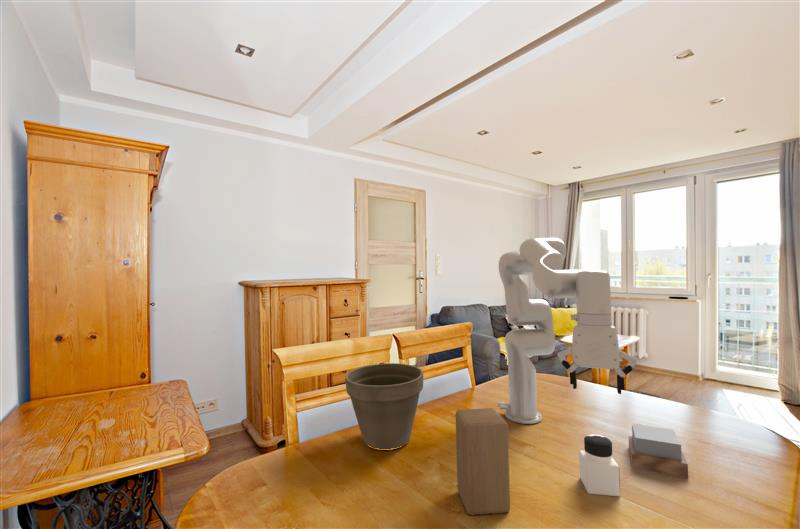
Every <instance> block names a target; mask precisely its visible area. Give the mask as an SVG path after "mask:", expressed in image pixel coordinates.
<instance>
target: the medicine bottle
mask: <svg viewBox="0 0 800 529" xmlns="http://www.w3.org/2000/svg"><path fill="white" fill-rule="evenodd" d="M583 443H584V444H583V445H584V446H583V448H584V450H583V449H581V450H580V449H579V452H578V456H579V457H578V458H579V477H580V480H581V482H582V485H583V486H584V489H585V490H586V493H587V494H589V495H596V496H597V495H598V496H600V495H601V496H610V497H621V480H620V479H621V478H620V477H621V475H620V474H621V473H620V471H621V470H620V466H619V464H618V463H617V461H616V460H615V459H614V457H613V443H612V441H611V439H609V438H607V437H605V436H603V435H601V434H592V433H591V434H587V435H586V436H584V438H583Z"/></svg>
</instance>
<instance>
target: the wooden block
mask: <svg viewBox="0 0 800 529" xmlns="http://www.w3.org/2000/svg"><path fill="white" fill-rule="evenodd" d="M455 436H456V437H455V441H456V442H455V444H456V445H455V447H456V475H457V476H456V479H457V480H456V481H457V482H456V483H457V486H456V487H457V491H458V493H459V496H460V498H461V501H462V503H463V506H464V509H465V511H466V513H467V515H469V514H471V515H470V516H473V515H472V514H480V515H489V513H492V514H501V513H502V514H503V513H508V512H510V510H511V490H510V489H511V488H510V486H511V485H510V461H509V460H510V459H509V458H510V457H509V456H510V455H509V453H510V452H509V425H508V423H507V421H506V420H505V419H504V417H502V415H501V414H500V413H499V412H498V411H497V410H496V409H495V408H493V407H492V408H491V407H489V408H474V409H473V408H470V409H458V410H456V412H455Z"/></svg>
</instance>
